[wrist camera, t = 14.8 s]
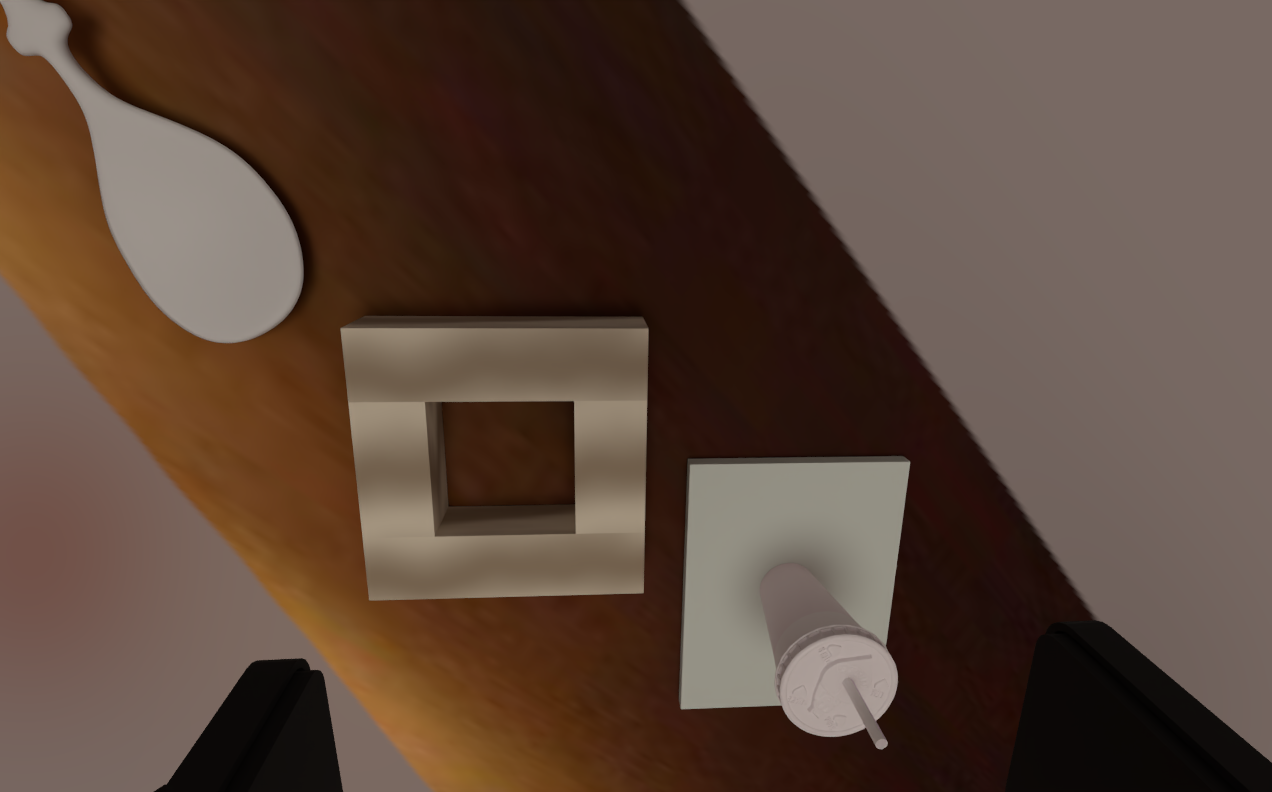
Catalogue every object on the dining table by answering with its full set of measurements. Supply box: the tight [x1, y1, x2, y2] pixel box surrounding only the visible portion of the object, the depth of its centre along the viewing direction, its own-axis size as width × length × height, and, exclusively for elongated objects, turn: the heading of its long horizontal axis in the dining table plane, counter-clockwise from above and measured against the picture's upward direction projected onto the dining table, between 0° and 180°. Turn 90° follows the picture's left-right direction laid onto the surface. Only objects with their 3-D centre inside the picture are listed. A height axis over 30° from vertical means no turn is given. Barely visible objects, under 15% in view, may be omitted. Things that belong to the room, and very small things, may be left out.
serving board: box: [679, 456, 910, 709], centre depth 45 cm, size 18×14×1 cm
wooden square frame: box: [341, 316, 648, 600], centre depth 40 cm, size 16×16×4 cm
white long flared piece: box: [0, 0, 304, 343], centre depth 33 cm, size 9×32×4 cm, turn 28°
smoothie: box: [760, 563, 898, 749], centre depth 38 cm, size 6×6×14 cm
